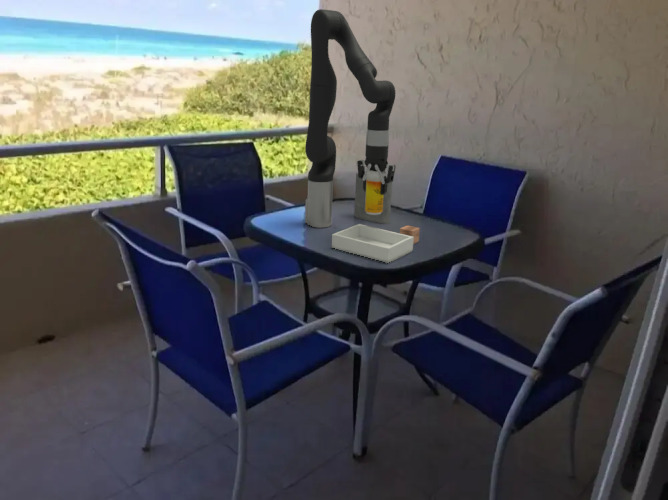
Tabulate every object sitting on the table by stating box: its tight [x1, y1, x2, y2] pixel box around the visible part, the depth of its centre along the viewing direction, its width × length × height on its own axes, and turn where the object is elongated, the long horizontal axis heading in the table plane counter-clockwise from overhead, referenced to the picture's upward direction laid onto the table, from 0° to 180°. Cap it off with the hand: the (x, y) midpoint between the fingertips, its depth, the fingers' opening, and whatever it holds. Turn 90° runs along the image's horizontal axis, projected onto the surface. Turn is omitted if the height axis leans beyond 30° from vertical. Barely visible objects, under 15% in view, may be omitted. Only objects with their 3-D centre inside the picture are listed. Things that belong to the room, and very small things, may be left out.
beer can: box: [365, 170, 384, 215], centre depth 197 cm, size 6×6×15 cm
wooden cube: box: [399, 225, 420, 245], centre depth 203 cm, size 5×5×5 cm
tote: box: [331, 223, 414, 264], centre depth 194 cm, size 22×16×5 cm
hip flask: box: [353, 172, 393, 225], centre depth 225 cm, size 16×4×20 cm, turn 54°
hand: (374, 192), depth 197 cm, fingers closed on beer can, 6 cm apart
